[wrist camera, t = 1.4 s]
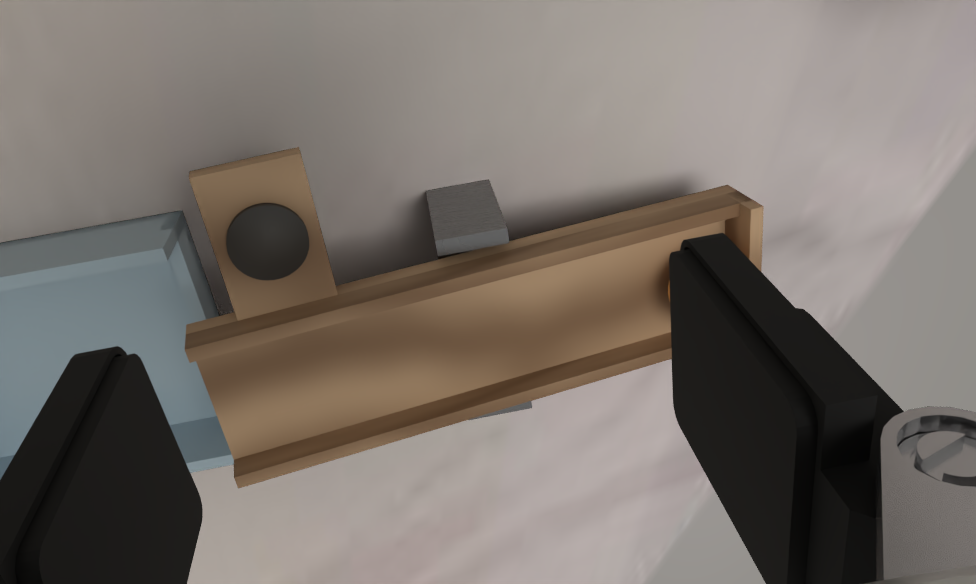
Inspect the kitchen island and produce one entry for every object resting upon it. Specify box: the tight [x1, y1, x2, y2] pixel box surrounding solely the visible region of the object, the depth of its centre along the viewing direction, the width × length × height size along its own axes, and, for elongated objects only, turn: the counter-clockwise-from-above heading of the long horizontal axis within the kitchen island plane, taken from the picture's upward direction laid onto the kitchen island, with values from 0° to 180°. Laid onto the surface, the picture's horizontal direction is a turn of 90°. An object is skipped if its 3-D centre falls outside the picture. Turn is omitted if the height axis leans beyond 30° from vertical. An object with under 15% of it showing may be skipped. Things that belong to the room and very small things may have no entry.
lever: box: [185, 147, 763, 488], centre depth 34 cm, size 13×24×4 cm, turn 98°
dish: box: [0, 211, 234, 479], centre depth 37 cm, size 12×14×4 cm
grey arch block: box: [426, 180, 532, 420], centre depth 37 cm, size 9×3×6 cm, turn 8°
